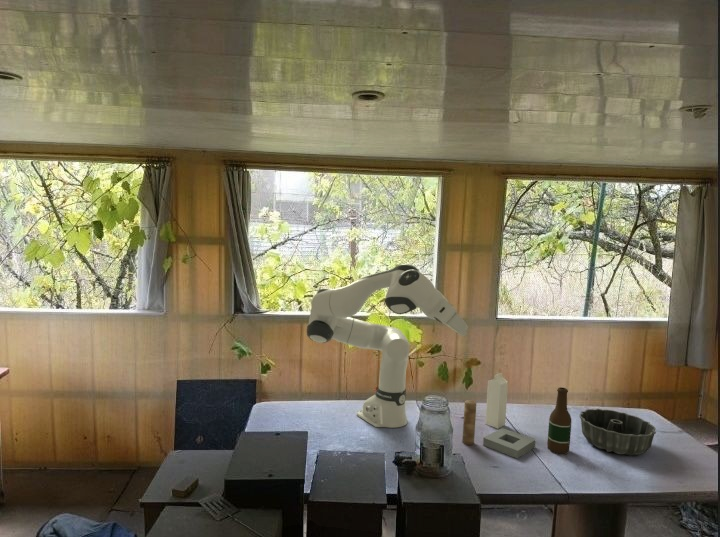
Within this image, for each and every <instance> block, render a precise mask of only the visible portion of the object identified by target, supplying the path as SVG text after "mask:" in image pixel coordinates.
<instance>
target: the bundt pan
mask: <svg viewBox="0 0 720 537" xmlns="http://www.w3.org/2000/svg"><path fill="white" fill-rule="evenodd" d="M579 419H580V424H581V426H580V427H581V432H582V435H583V436H584V437H585V439H586V440H587V442H588V443H589V444H591V445H593V446H595V447H596V448H598V449H600V450H605V451H606V452H607V453H612V452H614V453H615V454H617V455H626V456H628V457H629V456H630V457H631V456H633V455H642V454H643V453H646V452H648V451H649V450H650V449H651V447H652V443H653V440H654V437H655V434H657V431H656V427H655V425H653V424H651V423H650V422H649V421H647V420H644V419H643V418H641V417H639V416H636V415H632V414H628V413H627V412H622V411H621V412H620V411H617V410H613V409H601V408H596V409H594V408H593V409H592V408H588V409H585V410H583V411H582V410H581V411H580V413H579Z"/></svg>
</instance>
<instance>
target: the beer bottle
mask: <svg viewBox="0 0 720 537" xmlns="http://www.w3.org/2000/svg"><path fill="white" fill-rule="evenodd" d="M556 390H557V395H556V402H555V403H556V404H555V407H554V409H553V410H551V413H550V415H549V419H548V429H547V432H548V433H547V441H546V442H547V445H546V446H547V449H548V450H549V451H550V452H551V453H553V454H557V455H567V454H568V453H569V452H570V447H571V446H570V445H571V434H572V433H571V432H572V417H571V414H570V413H569V411H568V393H569V391H568V389H567V388H566V387H561V386H560V387H558V388H557V389H556Z"/></svg>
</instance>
